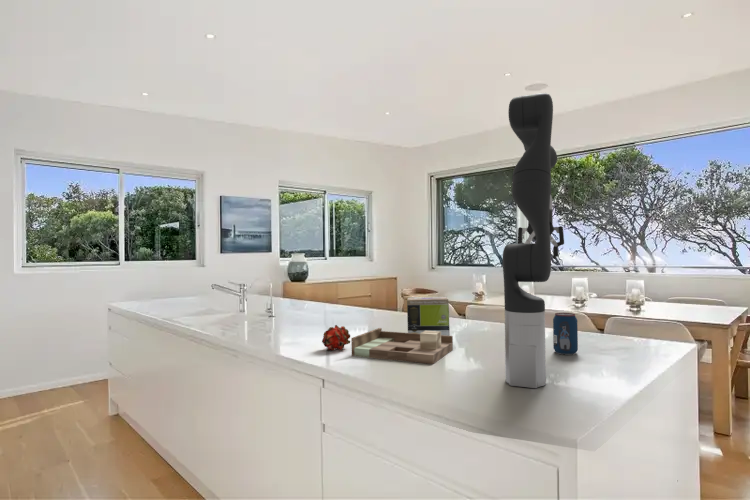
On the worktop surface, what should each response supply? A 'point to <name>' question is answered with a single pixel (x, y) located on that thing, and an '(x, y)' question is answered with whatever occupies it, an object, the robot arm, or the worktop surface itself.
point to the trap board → (398, 347)
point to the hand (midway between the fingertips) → (540, 258)
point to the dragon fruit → (336, 338)
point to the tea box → (428, 315)
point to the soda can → (565, 333)
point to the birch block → (430, 339)
